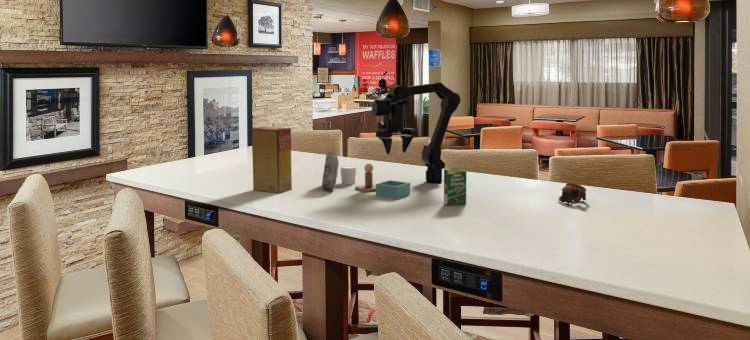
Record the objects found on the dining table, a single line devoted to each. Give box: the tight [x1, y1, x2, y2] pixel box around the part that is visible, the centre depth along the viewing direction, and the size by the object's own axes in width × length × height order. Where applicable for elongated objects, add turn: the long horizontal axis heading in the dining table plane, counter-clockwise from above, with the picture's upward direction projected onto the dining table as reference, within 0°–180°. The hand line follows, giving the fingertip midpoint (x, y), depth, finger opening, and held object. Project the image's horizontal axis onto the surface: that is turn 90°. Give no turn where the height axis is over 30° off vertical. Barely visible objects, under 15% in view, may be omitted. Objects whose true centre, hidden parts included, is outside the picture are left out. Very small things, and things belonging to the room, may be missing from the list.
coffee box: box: [443, 167, 467, 207], centre depth 206 cm, size 8×3×13 cm, turn 111°
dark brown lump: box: [558, 182, 587, 204], centre depth 209 cm, size 12×10×8 cm
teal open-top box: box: [375, 179, 411, 200], centre depth 222 cm, size 10×10×4 cm
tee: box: [354, 171, 376, 193], centre depth 232 cm, size 8×8×7 cm
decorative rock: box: [321, 151, 339, 190], centre depth 234 cm, size 16×7×15 cm, turn 0°
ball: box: [364, 163, 374, 173], centre depth 231 cm, size 4×4×4 cm
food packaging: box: [251, 126, 293, 194], centre depth 230 cm, size 13×9×25 cm
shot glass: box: [339, 165, 357, 186], centre depth 245 cm, size 7×7×7 cm
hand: (396, 153), depth 241 cm, fingers open, 9 cm apart
